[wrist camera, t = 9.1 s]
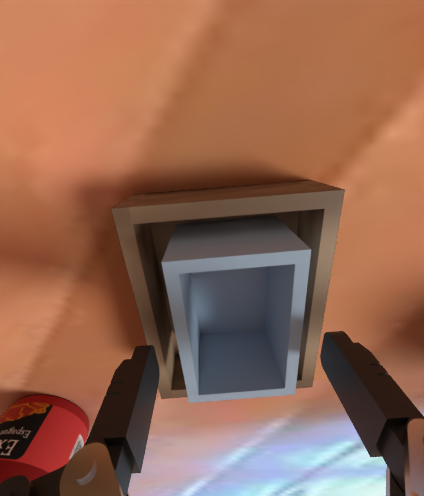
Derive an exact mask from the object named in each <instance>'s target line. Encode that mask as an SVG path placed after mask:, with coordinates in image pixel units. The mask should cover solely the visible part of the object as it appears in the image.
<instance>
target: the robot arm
mask: <svg viewBox="0 0 424 496" xmlns="http://www.w3.org/2000/svg"><path fill="white" fill-rule="evenodd" d="M320 357H321V363H322V367H323V369H324V371H325V373H326V375H327V377H328V379H329V380H330V382H331V384H332V386H333V388H334V390H335V392H336V393H337V395H338V397H339V399H340V401H341V403H342V405H343V407H344V408H345V410H346V412H347V414H348V416H349V418H350V420H351V421H352V423H353V425H354V427H355V429H356V431H357V433H358V434H359V436H360V438H361V440H362V442H363V444H364V446H365V448H366V449H367V451H368V453H369V455H370V457H380V456H382V457H383V459H384V460H385V462H386V464H387V469H386V496H424V416H423V415H422V414H421V413H420V412H419V410H418V409H417V408H416V407H415V406H414V404H413V403H412V402H411V401H410V399H409V398H408V397H407V396H406V394H405V393H404V392H403V391H402V390H401V388H400V387H399V386H398V385H397V383H396V382H395V381H394V380H393V379H392V377H391V376H390V375H388V372H387V371H386V370H385V369H384V368H383V366H381V365H380V363H379V361H378V360H377V359H376V358H375V356H374V355H373V354H372V353H371V352H370V351H369V350H368V349H366V348H365V347H364V346H362V345H361V344H359V343H353V342H352V341H351V339H350V338H349V337H348V335H347V334H346V333H345V332H343V331H338V332H326V333H325V334H324V338H323V344H322V350H321V356H320ZM159 375H160V371H159V364H158V360H157V356H156V352H155V348H154V346H153V345H146V346H137V347H136V348H135V350H134V353H133V356H132V358H131V359H127V360H124V361H123V362H122V363H121V364H120V366H119V367H118V368H117V369H116V370H115V373H114V375H113V378H112V380H111V384H110V385H109V388H108V390H107V393H106V396H105V398H104V400H103V403H102V405H101V408H100V410H99V412H98V415H97V417H96V420H95V422H94V425H93V427H92V430H91V432H90V435H89V437H88V439H87V441H86V443H85V445H84V446H83V448H81V449H80V450H79V451H77V452H76V453H75V454H74V455H73V457H72V458H71V459H70V460H69V462H68V463H67V464H65V465H64V466H62V467H60V468H59V469H56V470H54V471H52V472H50V473H48V474H45V475H43V476H41V477H39V478H37V479H35V480H32V481H29V479H28V478H27V477H25V476H22V475H17V476H13V477H11V478H8V479H7V480H5V481H3V482H2V483H0V496H129V493H128V487H129V482H130V478H131V473H141V469H142V464H143V459H144V454H145V449H146V444H147V439H148V434H149V429H150V424H151V419H152V414H153V409H154V404H155V399H156V394H157V389H158V384H159Z"/></svg>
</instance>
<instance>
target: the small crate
mask: <svg viewBox="0 0 424 496" xmlns="http://www.w3.org/2000/svg"><path fill="white" fill-rule="evenodd" d="M310 258H311V249H310V248H309V247H308V246H307V245H306V244H305V243H304V242H303V241H302V240H301V239H300V238H299V237H298V236H296V235H295V234H294V233H293V232H292V231H291V230H290V229H289V228H288V227H287V226H286V225H285V224H284V223H283V222H282V221H280V220H279V219H278V218H277V217H276V216H275V215H274V216H262V217H251V218H239V219H228V220H216V221H205V222H193V223H182V224H176V226H175V228H174V231H173V234H172V236H171V239H170V241H169V244H168V246H167V249H166V252H165V254H164V257H163V259H162V262H161V263H162V268H163V273H164V278H165V283H166V288H167V293H168V299H169V304H170V309H171V314H172V319H173V324H174V329H175V334H176V339H177V344H178V349H179V355H180V360H181V365H182V370H183V375H184V380H185V385H186V390H187V395H188V400H189V403H196V402H208V401H220V400H233V399H245V398H257V397H269V396H282V395H294V394H295V391H296V382H297V373H298V364H299V355H300V346H301V337H302V329H303V320H304V311H305V302H306V293H307V284H308V275H309V266H310Z"/></svg>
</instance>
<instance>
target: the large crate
mask: <svg viewBox="0 0 424 496" xmlns="http://www.w3.org/2000/svg"><path fill="white" fill-rule="evenodd" d="M344 192H345V190H344V189H341V188H337V187H334V186H330V185H327V184H323V183H320V182H316V181H312V180H305V181H293V182H281V183H269V184H257V185H244V186H232V187H220V188H208V189H196V190H183V191H171V192H159V193H147V194H135V195H132V196H131V197H129V198H127V199H126V200H124V201H123V202H121V203H119V204H118V205H116V206H115V207H113V208H112V209H111V211H112V215H113V218H114V222H115V226H116V230H117V233H118V237H119V241H120V245H121V249H122V252H123V256H124V260H125V264H126V267H127V271H128V275H129V279H130V282H131V286H132V290H133V294H134V297H135V301H136V305H137V309H138V312H139V316H140V320H141V324H142V328H143V331H144V335H145V339H146V343H147V345H153V346H154V348H155V352H156V356H157V360H158V364H159V371H160V375H159V384H158V388H159V391H160V395H161V399H167V398H180V397H188V395H187V390H186V385H185V380H184V375H183V370H182V365H181V360H180V355H179V349H178V344H177V339H176V334H175V329H174V324H173V319H172V314H171V309H170V304H169V299H168V293H167V288H166V283H165V278H164V273H163V268H162V263H161V262H162V259H163V257H164V254H165V252H166V249H167V246H168V244H169V241H170V239H171V236H172V234H173V231H174V228H175V226H176V224H182V223H193V222H205V221H216V220H228V219H239V218H251V217H262V216H274V215H275V216H276V217H277V218H278V219H279V220H280V221H282V222H283V223H284V224H285V225H286V226H287V227H288V228H289V229H290V230H291V231H292V232H293V233H294V234H295V235H296V236H298V237H299V238H300V239H301V240H302V241H303V242H304V243H305V244H306V245H307V246H308V247H309V248H310V249H311V258H310V266H309V275H308V284H307V293H306V302H305V311H304V320H303V329H302V337H301V346H300V355H299V364H298V373H297V382H296V388H308V387H312V385H313V378H314V372H315V366H316V360H317V354H318V348H319V342H320V336H321V330H322V324H323V318H324V312H325V306H326V300H327V294H328V288H329V282H330V276H331V270H332V264H333V258H334V252H335V246H336V240H337V234H338V228H339V222H340V216H341V210H342V204H343V198H344Z"/></svg>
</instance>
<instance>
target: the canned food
mask: <svg viewBox="0 0 424 496" xmlns="http://www.w3.org/2000/svg"><path fill="white" fill-rule="evenodd" d="M88 430H89V420H88V417H87V416H86V414H85V413H84V411H83V410H82V409H81V408H80V407H78V406H77V405H75V404H74V403H72V402H70V401H68V400H65V399H63V398H60V397H56V396H50V395H33V396H28V397H24V398H21V399H20V400H18V401H16V402H15V403H14V404H13V405H12V406H11V407H9V408H8V409H7V410H6V411H5V412H4V413H3V414H2V416H1V417H0V483H2V482H3V481H5V480H7V479H8V478H11V477H13V476H17V475H22V476H25V477H27V478H28V479H29V481H32V480H35V479H37V478H39V477H41V476H43V475H45V474H48V473H50V472H52V471H54V470H56V469H59V468H60V467H62V466H64V465H65V464H67V463H68V462H69V460H70V459H71V458H72V457H73V455H74V454H75V453H76V452H77V451H79V450H80V449H81V448H83V446H84V444H85V441H86V439H87V436H88Z"/></svg>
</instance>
